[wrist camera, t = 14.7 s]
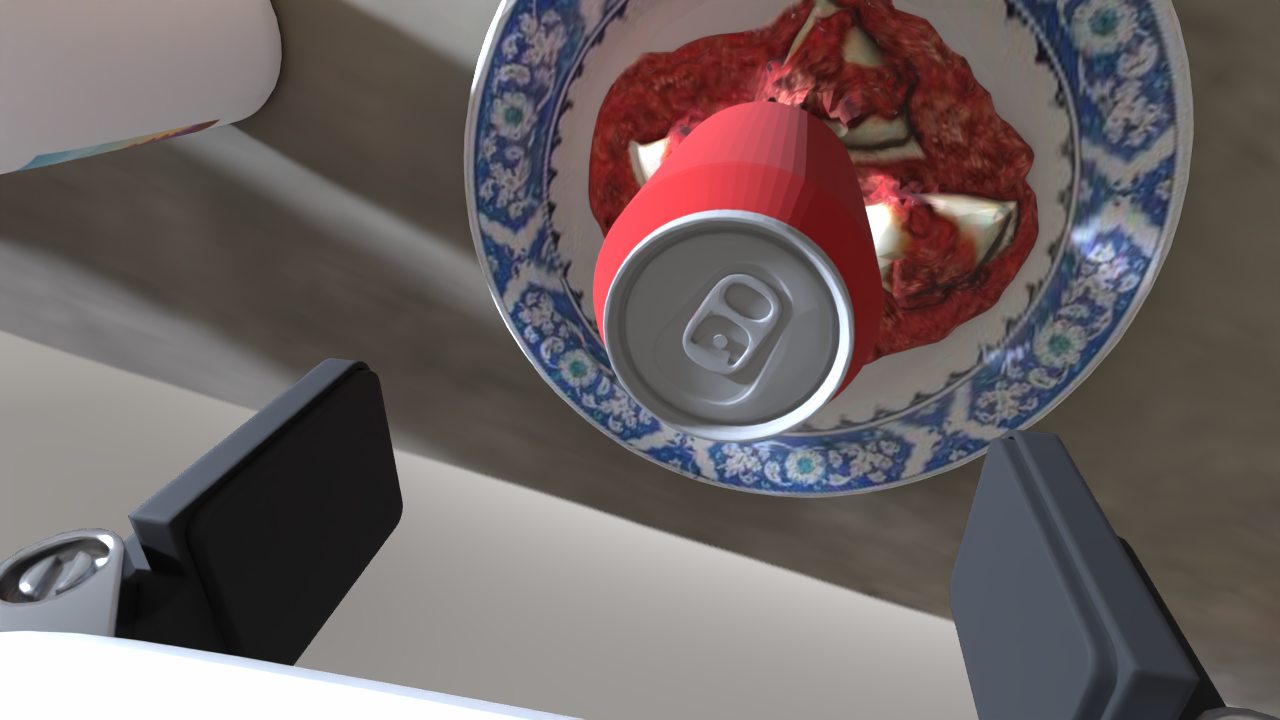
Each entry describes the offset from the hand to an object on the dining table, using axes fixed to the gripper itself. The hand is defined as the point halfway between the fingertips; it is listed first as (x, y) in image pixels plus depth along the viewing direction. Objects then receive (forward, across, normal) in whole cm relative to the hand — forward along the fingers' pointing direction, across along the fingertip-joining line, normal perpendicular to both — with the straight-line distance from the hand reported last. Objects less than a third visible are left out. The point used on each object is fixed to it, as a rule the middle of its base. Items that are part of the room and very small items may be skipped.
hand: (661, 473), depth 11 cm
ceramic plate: (+20, -2, +1) cm, 20 cm away
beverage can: (+17, -1, 0) cm, 17 cm away
